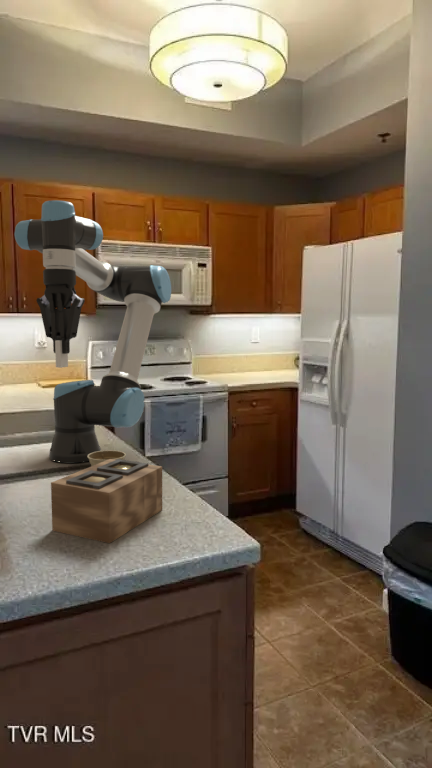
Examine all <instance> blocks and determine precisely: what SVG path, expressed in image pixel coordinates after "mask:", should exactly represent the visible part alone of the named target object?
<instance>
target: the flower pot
mask: <svg viewBox="0 0 432 768" xmlns="http://www.w3.org/2000/svg"><path fill="white" fill-rule="evenodd" d="M126 456H127V453H126V452H124V451H121V450H115V449H114V450H113V449H112V450H106V449H105V450H101V451H97V452H93V453H90V454H89V455H88V456H87V457H88V459H89V464H90V467H91V466H94V465H96V464H99V463H101V462H104V461H106V460H109V459H114V460H117V459H122V460H125V457H126Z"/></svg>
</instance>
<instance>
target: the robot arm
mask: <svg viewBox="0 0 432 768" xmlns="http://www.w3.org/2000/svg"><path fill="white" fill-rule="evenodd" d="M14 239H15V242H16V244H17V245H18V247H20V248H21V249H22V250H27V251H33V250H35V251H38V253H40V254H42V265H43V266H42V267H44V269H43V271H42V274H43V278H42V280H43V285H44V287H45V289H44V295H42V296H41V297H37V299H36V301H35V302H36V303H37V305H38V306H39V309H40V314H41V318H42V323H43V328H44V333H45V337H47V338H50V339H51V340H52V347H53V348H52V349H53V354H55V355H54V356H55V368H57V369H58V368H61V369H63V368H68V367H69V356H68V354H70V351H71V350H70V348H71V346H70V342H71V340H72V339H74V338H77V335H78V330H79V325H80V319H81V312H82V308H83V306H84V304H85V301H86V300H85V298H83V297H82V298H81V297H80V296H79V295H77V291H76V289H75V286H76V284H77V277H78V278H80V279H81V280H83V281H84V282H86V285H87V286H88V288H89V289H90V290H93V292H95V293H97V294H100V295H101V296H102V297H105V298H108V299H110V300H113V301H115V302H120V303H124V304H125V306H126V310H125V313H124V318H123V322H122V325H121V329H120V331H119V332H120V333H119V336H118V339H117V343H116V347H115V350H114V354H113V358H112V361H111V366H110V368H109V373H107V374H106V375H105V374H104V375H103V376H102V378H101V381H100V385H95V381H94V380H93V379H83V380H75V381H67V382H62V383H58V384H57V385H55V386H54V390H53V398H52V399H53V412H54V415H53V416H54V435H53V437H52V442H51V447H50V448H49V455H48V456H49V460H50V459H51V460H50V461H52V460H55V461H60V462H82V463H84V462H83V461H89V459H88V457H87V456H88V455H89V454H90V453H93V452H97V451H102V449H101V446H100V443H99V441H98V437H97V434H96V429H95V428H96V426H100V427H112V428H113V427H114V428H118V429H119V428H132V427H133V426H134V425H136V424H137V423H138V422H139V420H140V419H141V417H142V415H143V412H144V409H145V402H144V401H145V394H144V392H143V391H142V389H141V384H140V383H139V382H138V379H139V375H140V371H141V367H142V363H143V359H144V355H145V351H146V347H147V343H148V339H149V335H150V330H151V327H152V323H153V319H154V315H155V314H157V313H159V312H160V310H161V307H162V304H166V303H168V302H169V301H170V300H171V297H172V283H171V278H170V275H169V273H168V271H167V269H166V268H165V267H163V266H161V265H153V264H151V265H113V264H110V263H108V262H106V261H103V260H102V261H100V260H98V259H97V258H96V257H94V256H93V255H92V254H91V253H89V252H87V251H86V250H91V251H92V250H96V249H98V247H100V245H101V244H102V242H103V240H104V232H103V229H102V227H101V225H100V224H99V223H98V222H96V221H94V220H92V219H90V218H85V217H82V216H78V215H76V210H75V206H74V204H73V203H72V202H70V201H65V200H59V199H58V200H46V201H44V202H43V203H42V204H41V218H40V219H31V218H30V219H26V220H21V221H19V222H18V223H17V224H16V225H15V229H14ZM89 462H90V461H89Z"/></svg>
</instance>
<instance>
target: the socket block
mask: <svg viewBox="0 0 432 768" xmlns="http://www.w3.org/2000/svg"><path fill="white" fill-rule="evenodd" d="M120 465H128V466H131V467H132V468H129V469H127V470H123V469H117V468H114V467H116V466H120ZM50 491H51V492H50V494H51V496H50V497H51V498H50V499H51V527H52V528H51V529H52V531H54V532H58V533H62V534H66V535H71V536H75V537H80V538H85V539H89V540H93V541H97V542H103V543H106V544H107V543H108V544H111V543H113V542H114V541H115V540H117V539H119V538H120V537H122V536H124V535H126V533H128V532H130V531H132V530H133V529H135V528H136V527H138V526H140V525H141V524H142V523H144V522H146V521H148V520H149V519H150V518H152V517H153V516H155V515H156V514H159V512H162V510H163V466H161V465H155V464H154V465H153V464H149V462H148V463H147V462H141V461H134V460H129V459H128V460H127V459H124V460H122V459H117V460H114V459H109V460H106V461H104V462H101V463H99V464H96V465H94V466H91V465H90V466H89V467H87V468H84V469H81V470H79V471H76V472H74V473H71V474H69V475H66V476H63V477H62V478H60V479H59V478H58V479H57V480H54V481H52V482H50Z"/></svg>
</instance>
